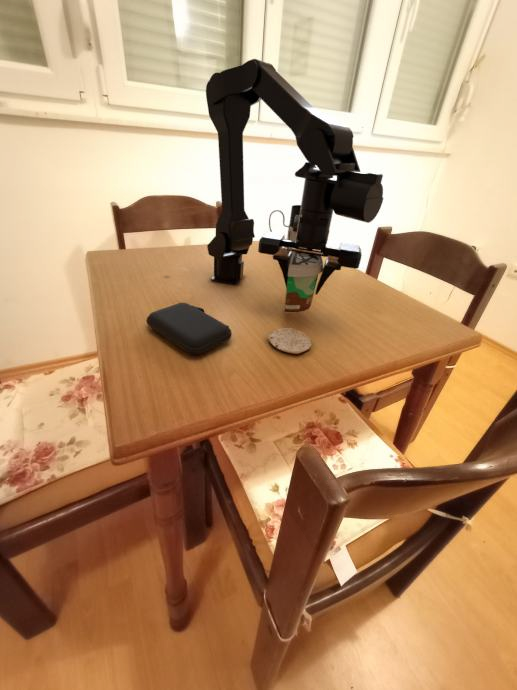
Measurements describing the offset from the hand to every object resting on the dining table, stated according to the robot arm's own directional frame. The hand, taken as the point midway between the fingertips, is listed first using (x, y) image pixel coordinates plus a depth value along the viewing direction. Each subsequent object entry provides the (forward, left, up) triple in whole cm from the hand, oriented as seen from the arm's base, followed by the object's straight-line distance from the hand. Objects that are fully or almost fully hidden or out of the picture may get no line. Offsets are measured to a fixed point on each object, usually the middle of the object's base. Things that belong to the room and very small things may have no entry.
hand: (302, 291), depth 63 cm
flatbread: (0, -12, -5) cm, 13 cm away
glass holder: (-8, +35, -6) cm, 36 cm away
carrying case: (-18, -15, -6) cm, 24 cm away
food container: (0, 0, -3) cm, 3 cm away
